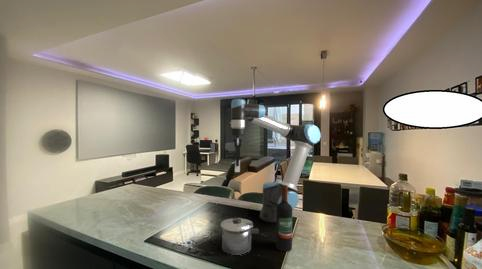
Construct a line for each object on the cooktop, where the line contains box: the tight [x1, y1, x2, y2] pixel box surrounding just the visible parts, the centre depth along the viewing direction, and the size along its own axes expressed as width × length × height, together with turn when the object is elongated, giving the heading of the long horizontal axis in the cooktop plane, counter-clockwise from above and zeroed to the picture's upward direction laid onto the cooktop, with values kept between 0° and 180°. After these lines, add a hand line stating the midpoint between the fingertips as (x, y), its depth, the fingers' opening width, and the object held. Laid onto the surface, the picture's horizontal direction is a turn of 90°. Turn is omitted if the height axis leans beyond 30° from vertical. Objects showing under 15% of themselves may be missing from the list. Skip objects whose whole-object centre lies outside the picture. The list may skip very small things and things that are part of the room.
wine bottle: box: [275, 185, 293, 253], centre depth 102 cm, size 8×8×30 cm
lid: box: [220, 217, 254, 232], centre depth 102 cm, size 16×16×2 cm
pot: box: [214, 227, 260, 256], centre depth 101 cm, size 14×21×10 cm, turn 91°
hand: (237, 171), depth 113 cm, fingers closed
